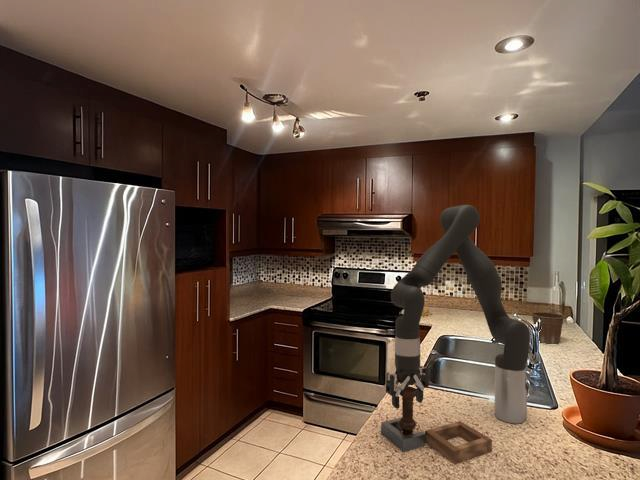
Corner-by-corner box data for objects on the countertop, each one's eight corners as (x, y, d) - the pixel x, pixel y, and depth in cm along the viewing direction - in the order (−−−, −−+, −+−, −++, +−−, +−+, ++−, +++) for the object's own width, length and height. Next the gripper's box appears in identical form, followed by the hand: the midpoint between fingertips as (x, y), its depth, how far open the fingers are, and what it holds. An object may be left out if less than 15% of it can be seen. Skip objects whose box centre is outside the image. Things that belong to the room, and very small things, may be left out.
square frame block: (460, 432, 122) (460, 420, 122) (491, 451, 111) (491, 439, 111) (424, 442, 116) (424, 430, 116) (454, 464, 105) (454, 451, 105)
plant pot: (550, 338, 229) (550, 311, 229) (571, 346, 213) (571, 317, 213) (524, 339, 227) (525, 312, 226) (544, 347, 211) (544, 318, 210)
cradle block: (402, 428, 124) (402, 417, 124) (425, 445, 114) (425, 433, 114) (381, 433, 121) (381, 422, 121) (403, 452, 111) (403, 439, 111)
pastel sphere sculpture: (436, 315, 294) (436, 303, 293) (426, 321, 274) (426, 308, 274) (405, 311, 308) (405, 300, 307) (393, 317, 288) (393, 304, 288)
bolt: (415, 434, 120) (416, 386, 120) (418, 443, 115) (419, 393, 115) (396, 433, 121) (397, 385, 121) (398, 442, 116) (399, 392, 116)
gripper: (418, 345, 124) (418, 395, 124) (380, 351, 118) (380, 404, 118) (434, 351, 117) (434, 405, 117) (395, 358, 111) (395, 414, 111)
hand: (407, 404), depth 118 cm, fingers open, 8 cm apart
